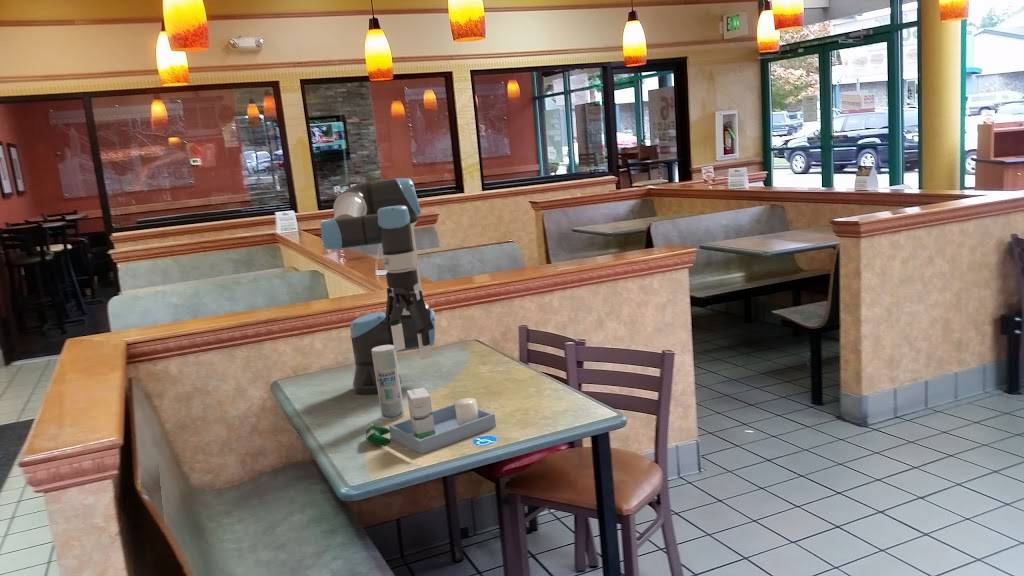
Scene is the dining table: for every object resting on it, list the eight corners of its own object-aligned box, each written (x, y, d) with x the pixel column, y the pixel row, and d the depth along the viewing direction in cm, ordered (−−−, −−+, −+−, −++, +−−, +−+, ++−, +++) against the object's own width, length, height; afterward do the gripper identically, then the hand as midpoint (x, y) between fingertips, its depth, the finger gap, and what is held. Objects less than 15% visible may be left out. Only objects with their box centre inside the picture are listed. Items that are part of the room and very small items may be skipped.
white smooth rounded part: (453, 429, 196) (449, 403, 194) (469, 422, 200) (465, 396, 198) (468, 433, 192) (464, 406, 191) (484, 425, 196) (480, 399, 194)
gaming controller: (382, 441, 200) (364, 429, 199) (391, 430, 200) (372, 417, 199) (383, 454, 191) (363, 441, 190) (392, 442, 191) (372, 429, 190)
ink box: (437, 440, 189) (431, 395, 187) (417, 444, 188) (411, 399, 186) (430, 429, 198) (424, 386, 195) (411, 433, 196) (405, 390, 194)
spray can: (404, 411, 217) (394, 343, 213) (405, 418, 210) (395, 348, 207) (381, 414, 216) (371, 346, 212) (381, 422, 209) (371, 352, 206)
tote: (391, 440, 195) (388, 425, 194) (462, 415, 207) (461, 401, 207) (421, 456, 182) (419, 441, 181) (496, 429, 195) (494, 414, 194)
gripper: (364, 269, 193) (376, 349, 197) (412, 276, 173) (424, 365, 177) (391, 264, 197) (402, 342, 201) (440, 270, 177) (451, 357, 181)
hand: (412, 353), depth 189 cm, fingers open, 13 cm apart
